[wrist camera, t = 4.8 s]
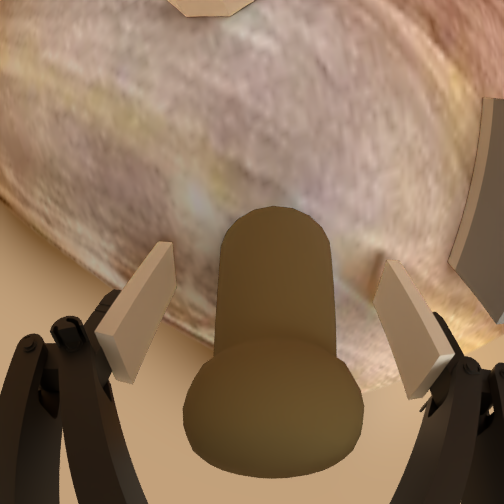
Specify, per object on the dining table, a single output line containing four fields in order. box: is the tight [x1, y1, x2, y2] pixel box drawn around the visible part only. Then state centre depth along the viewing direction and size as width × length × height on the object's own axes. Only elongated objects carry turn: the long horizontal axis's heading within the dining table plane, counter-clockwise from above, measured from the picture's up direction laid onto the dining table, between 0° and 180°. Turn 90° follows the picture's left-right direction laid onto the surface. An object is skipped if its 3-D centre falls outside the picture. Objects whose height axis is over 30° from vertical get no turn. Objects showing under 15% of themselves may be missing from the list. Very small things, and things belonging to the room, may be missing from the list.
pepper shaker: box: [183, 206, 364, 478], centre depth 10 cm, size 6×6×11 cm
